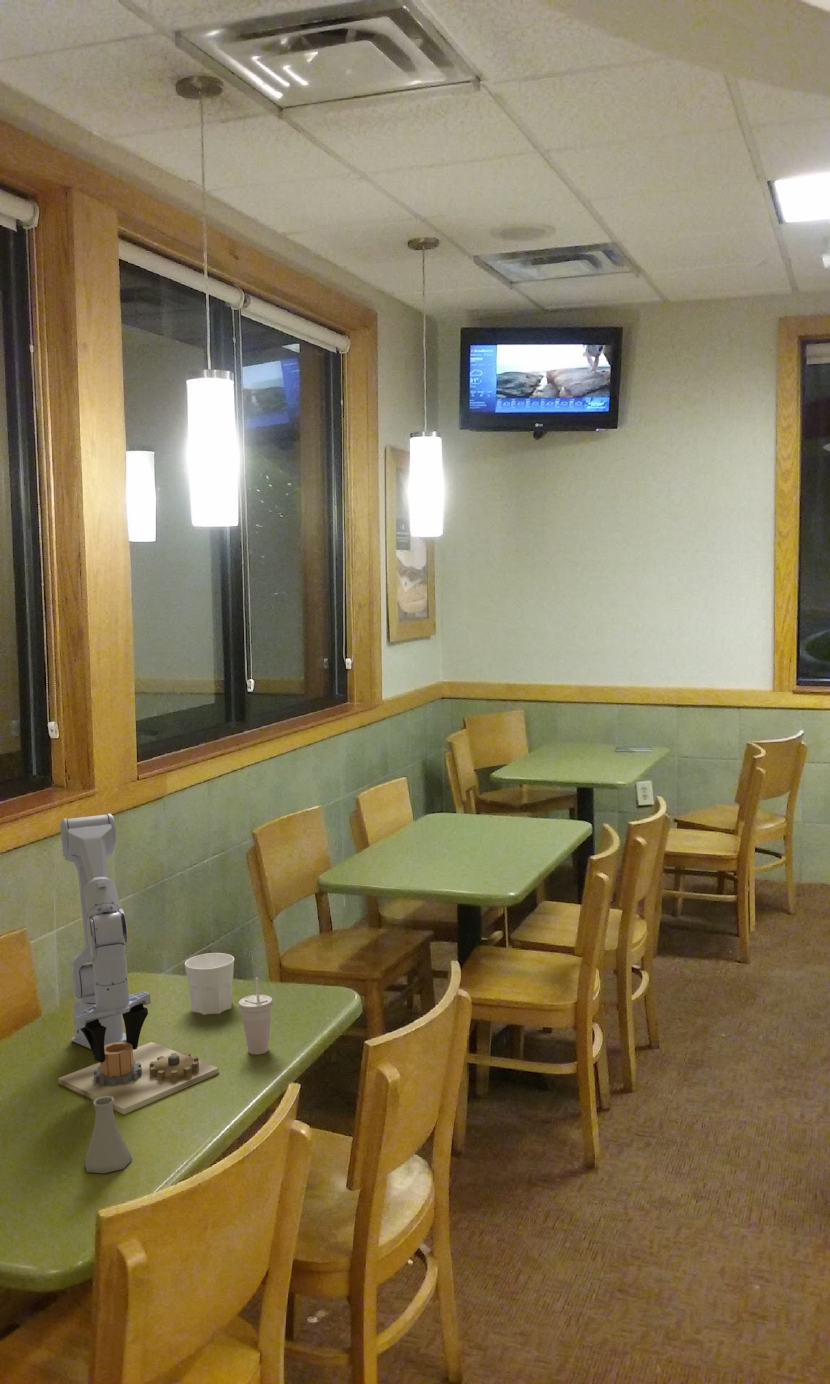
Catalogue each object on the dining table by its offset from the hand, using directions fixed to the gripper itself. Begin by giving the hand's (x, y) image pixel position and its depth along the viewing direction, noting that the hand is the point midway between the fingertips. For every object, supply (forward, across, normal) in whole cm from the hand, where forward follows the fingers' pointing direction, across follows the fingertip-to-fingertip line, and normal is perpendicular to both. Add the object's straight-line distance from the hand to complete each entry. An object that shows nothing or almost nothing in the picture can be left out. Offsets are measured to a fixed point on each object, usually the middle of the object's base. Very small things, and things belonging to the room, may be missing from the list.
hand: (116, 1054), depth 210 cm
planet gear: (+4, 0, 0) cm, 4 cm away
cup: (+5, +33, +15) cm, 37 cm away
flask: (+5, -18, -24) cm, 30 cm away
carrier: (+5, +3, -2) cm, 6 cm away
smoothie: (+5, +24, -10) cm, 27 cm away
